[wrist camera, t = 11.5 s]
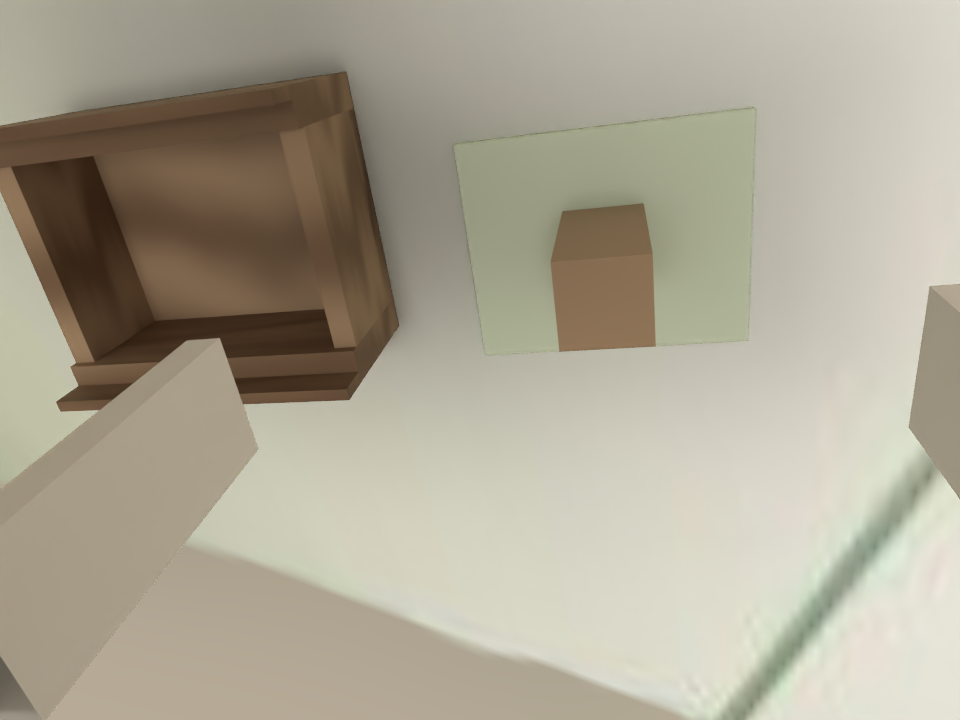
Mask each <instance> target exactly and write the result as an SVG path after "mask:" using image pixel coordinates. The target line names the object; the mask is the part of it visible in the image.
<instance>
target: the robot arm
mask: <svg viewBox="0 0 960 720" xmlns="http://www.w3.org/2000/svg"><path fill="white" fill-rule="evenodd" d="M909 428H910V430H911V431H912V433H913V434H914V435H915V437H916V438H917V440H918V441H919V442H920V444H921V445H922V447H923V448H924V449H925V451H926V452H927V454H928V455H929V456H930V458H931V459H932V461H933V462H934V463H935V465H936V466H937V468H938V469H939V470H940V472H941V473H942V475H943V476H944V477H945V479H946V480H947V482H948V483H949V485H950V486H951V487H952V489H953V490H954V492H955V493H956V494H957V496H958V497H959V499H960V284H954V285H941V286H930V288H929V295H928V302H927V308H926V315H925V322H924V328H923V335H922V342H921V348H920V355H919V362H918V369H917V375H916V382H915V389H914V395H913V402H912V409H911V415H910V422H909ZM257 450H258V446H257V443H256V440H255V437H254V435H253V432H252V429H251V426H250V423H249V420H248V417H247V415H246V412H245V409H244V406H243V403H242V400H241V397H240V395H239V392H238V389H237V386H236V383H235V380H234V377H233V375H232V372H231V369H230V366H229V363H228V360H227V357H226V355H225V352H224V349H223V346H222V343H221V340H220V338H214V339H201V340H187V341H186V342H184V343H183V344H182V345H181V346H179V347H178V348H177V349H176V350H174V351H173V352H172V353H171V354H169V355H168V356H167V357H166V358H164V359H163V360H162V361H161V362H159V363H158V364H157V365H156V366H154V367H153V368H152V369H151V370H149V371H148V372H147V373H146V374H144V375H143V376H142V377H141V378H139V379H138V380H137V381H136V382H134V383H133V384H132V385H131V386H129V387H128V388H127V389H126V390H124V391H123V392H122V393H121V394H119V395H118V396H117V397H116V398H114V399H113V400H112V401H111V402H109V403H108V404H107V405H106V406H104V407H103V408H102V409H101V410H99V411H98V412H97V413H96V414H94V415H93V416H92V417H91V418H89V419H88V420H87V421H86V422H84V423H83V424H82V425H81V426H79V427H78V428H77V429H76V430H74V431H73V432H72V433H71V434H69V435H68V436H67V437H66V438H64V439H63V440H62V441H61V442H59V443H58V444H57V445H56V446H54V447H53V448H52V449H51V450H49V451H48V452H47V453H46V454H44V455H43V456H42V457H41V458H39V459H38V460H37V461H36V462H34V463H33V464H32V465H31V466H29V467H28V468H27V469H26V470H24V471H23V472H22V473H20V474H19V475H18V476H17V477H15V478H14V479H13V480H12V481H10V482H9V483H8V484H7V485H5V486H4V487H3V488H2V489H0V719H1V720H46V719H47V718H48V717H49V715H50V714H51V713H52V712H53V710H54V709H55V708H56V706H57V705H58V704H59V703H60V701H61V700H62V699H63V698H64V696H65V695H66V694H67V692H68V691H69V690H70V689H71V687H72V686H73V685H74V684H75V682H76V681H77V680H78V678H79V677H80V676H81V675H82V673H83V672H84V671H85V669H86V668H87V667H88V666H89V664H90V663H91V662H92V661H93V659H94V658H95V657H96V656H97V654H98V653H99V652H100V650H101V649H102V648H103V647H104V645H105V644H106V643H107V641H108V640H109V639H110V638H111V636H112V635H113V634H114V633H115V631H116V630H117V629H118V627H119V626H120V625H121V623H122V622H123V621H124V620H125V619H126V617H127V616H128V614H129V613H130V612H131V611H132V610H133V608H134V607H135V606H136V604H137V603H138V602H139V601H140V599H141V598H142V597H143V596H144V594H145V593H146V592H147V590H148V589H149V588H150V587H151V585H152V584H153V583H154V582H155V580H156V579H157V578H158V576H159V575H160V574H161V573H162V571H163V570H164V569H165V568H166V566H167V565H168V564H169V563H170V561H171V560H172V559H173V557H174V556H175V555H176V553H177V552H178V551H179V550H180V548H181V547H182V546H183V545H184V543H185V542H186V541H187V540H188V538H189V537H190V536H191V535H192V533H193V532H194V531H195V529H196V528H197V527H198V526H199V524H200V523H201V522H202V520H203V519H204V518H205V517H206V515H207V514H208V513H209V512H210V510H211V509H212V508H213V506H214V505H215V504H216V503H217V501H218V500H219V499H220V498H221V496H222V495H223V494H224V492H225V491H226V490H227V489H228V487H229V486H230V485H231V484H232V482H233V481H234V480H235V478H236V477H237V476H238V475H239V473H240V472H241V471H242V470H243V468H244V467H245V466H246V464H247V463H248V462H249V461H250V459H251V458H252V457H253V456H254V454H255V453H256V452H257Z"/></svg>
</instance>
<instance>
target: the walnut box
mask: <svg viewBox="0 0 960 720" xmlns="http://www.w3.org/2000/svg"><path fill="white" fill-rule="evenodd" d="M0 192H1V194H2V196H3V198H4V201H5V203H6V205H7V207H8V210H9V212H10V214H11V216H12V219H13V221H14V223H15V226H16V228H17V230H18V232H19V235H20V237H21V239H22V241H23V244H24V246H25V248H26V250H27V253H28V255H29V257H30V259H31V262H32V264H33V266H34V268H35V271H36V273H37V275H38V277H39V280H40V282H41V284H42V287H43V289H44V291H45V293H46V296H47V298H48V300H49V302H50V305H51V307H52V309H53V311H54V314H55V316H56V318H57V320H58V323H59V325H60V327H61V329H62V332H63V334H64V336H65V338H66V341H67V343H68V345H69V348H70V350H71V352H72V354H73V357H74V359H75V361H76V364H74V365H73V366H71V369H72V372H73V374H74V376H75V378H76V380H77V383H78V385H79V386H78V387H77V388H75V389H74V390H72V391H71V392H70V393H68V394H67V395H65V396H64V397H62V398H61V399H60V400H58V401H57V402H56V403H57V405H58V407H59V409H60V411H86V410H101V409H102V408H103V407H104V406H106V405H107V404H108V403H109V402H111V401H112V400H113V399H114V398H116V397H117V396H118V395H119V394H121V393H122V392H123V391H124V390H126V389H127V388H128V387H129V386H131V385H132V384H133V383H134V382H136V381H137V380H138V379H139V378H141V377H142V376H143V375H144V374H146V373H147V372H148V371H149V370H151V369H152V368H153V367H154V366H156V365H157V364H158V363H159V362H161V361H162V360H163V359H164V358H166V357H167V356H168V355H169V354H171V353H172V352H173V351H174V350H176V349H177V348H178V347H179V346H181V345H182V344H183V343H184V342H186V341H187V340H201V339H214V338H220V340H221V343H222V346H223V349H224V352H225V355H226V357H227V360H228V363H229V366H230V369H231V372H232V375H233V377H234V380H235V383H236V386H237V389H238V392H239V395H240V397H241V400H242V403H243V404H260V403H285V402H310V401H335V400H350V398H351V397H352V395H353V394H354V392H355V391H356V389H357V388H358V386H359V385H360V383H361V382H362V380H363V379H364V377H365V376H366V374H367V373H368V371H369V370H370V368H371V367H372V365H373V364H374V362H375V361H376V359H377V358H378V356H379V355H380V353H381V352H382V350H383V349H384V347H385V346H386V344H387V343H388V341H389V340H390V338H391V337H392V335H393V334H394V332H395V331H396V329H397V328H398V326H399V324H398V319H397V314H396V310H395V305H394V300H393V295H392V290H391V285H390V281H389V276H388V271H387V266H386V261H385V257H384V252H383V247H382V242H381V237H380V233H379V228H378V223H377V218H376V213H375V208H374V204H373V199H372V194H371V189H370V184H369V180H368V175H367V170H366V165H365V160H364V156H363V151H362V146H361V141H360V136H359V132H358V127H357V122H356V117H355V112H354V107H353V103H352V98H351V93H350V88H349V83H348V79H347V74H346V72H340V73H333V74H327V75H320V76H313V77H307V78H300V79H293V80H286V81H280V82H273V83H266V84H260V85H253V86H246V87H240V88H233V89H226V90H219V91H213V92H206V93H199V94H193V95H186V96H179V97H172V98H166V99H159V100H152V101H146V102H139V103H132V104H126V105H119V106H112V107H105V108H99V109H92V110H85V111H79V112H72V113H66V114H61V115H56V116H50V117H45V118H40V119H34V120H29V121H24V122H18V123H13V124H8V125H2V126H0Z"/></svg>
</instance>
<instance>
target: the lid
mask: <svg viewBox="0 0 960 720" xmlns="http://www.w3.org/2000/svg"><path fill="white" fill-rule="evenodd" d="M755 115H756V108H754V107H751V108H743V109H734V110H726V111H718V112H710V113H702V114H693V115H685V116H677V117H669V118H661V119H652V120H644V121H636V122H628V123H620V124H611V125H603V126H595V127H587V128H579V129H570V130H562V131H554V132H546V133H538V134H529V135H521V136H513V137H505V138H497V139H489V140H480V141H472V142H464V143H456V144H454V145H453V148H454V154H455V161H456V167H457V174H458V180H459V187H460V194H461V200H462V207H463V213H464V220H465V226H466V233H467V239H468V246H469V253H470V259H471V266H472V272H473V279H474V285H475V292H476V299H477V305H478V312H479V318H480V325H481V331H482V338H483V345H484V351H485V355H497V354H516V353H534V352H553V351H578V350H597V349H615V348H634V347H652V346H664V345H683V344H702V343H720V342H739V341H748V328H749V298H750V267H751V237H752V206H753V176H754V145H755Z"/></svg>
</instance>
